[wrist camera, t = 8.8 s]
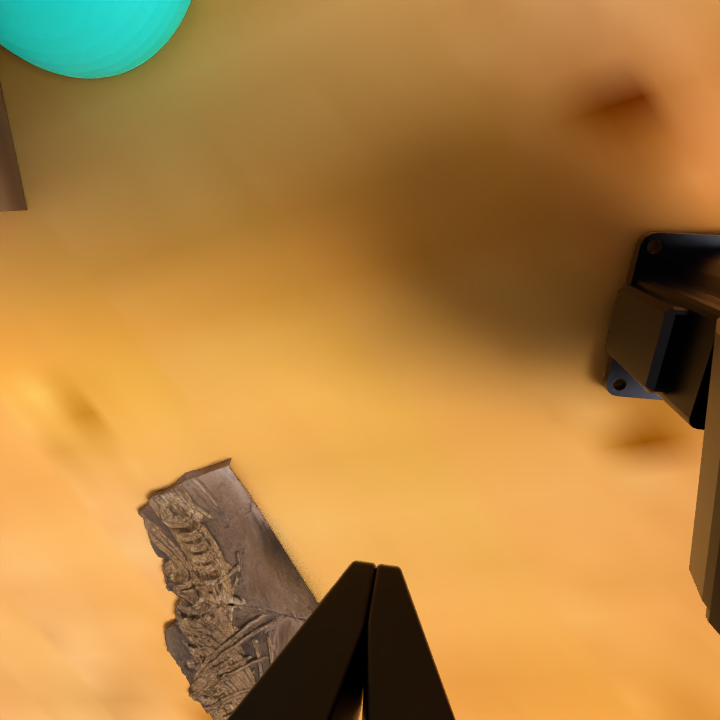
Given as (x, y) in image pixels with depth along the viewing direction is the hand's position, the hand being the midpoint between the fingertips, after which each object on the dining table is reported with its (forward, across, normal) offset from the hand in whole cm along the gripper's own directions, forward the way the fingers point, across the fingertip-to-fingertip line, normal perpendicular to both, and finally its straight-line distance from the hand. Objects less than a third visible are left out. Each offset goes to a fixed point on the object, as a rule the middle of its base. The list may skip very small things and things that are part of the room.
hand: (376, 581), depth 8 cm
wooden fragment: (+14, +9, +20) cm, 26 cm away
